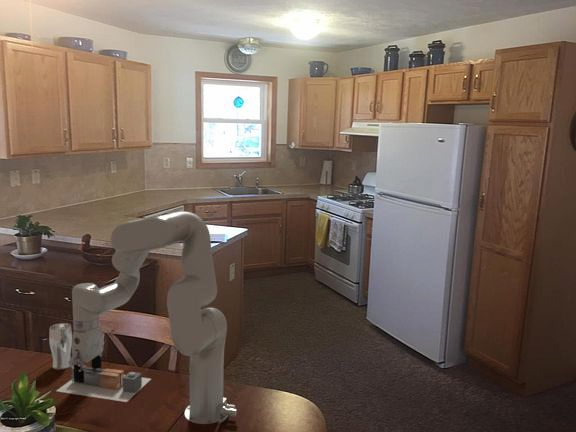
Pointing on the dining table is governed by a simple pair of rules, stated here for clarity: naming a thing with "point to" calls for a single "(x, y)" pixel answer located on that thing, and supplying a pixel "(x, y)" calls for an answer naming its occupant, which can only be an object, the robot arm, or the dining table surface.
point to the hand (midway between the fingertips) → (88, 375)
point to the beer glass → (60, 344)
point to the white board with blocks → (123, 393)
